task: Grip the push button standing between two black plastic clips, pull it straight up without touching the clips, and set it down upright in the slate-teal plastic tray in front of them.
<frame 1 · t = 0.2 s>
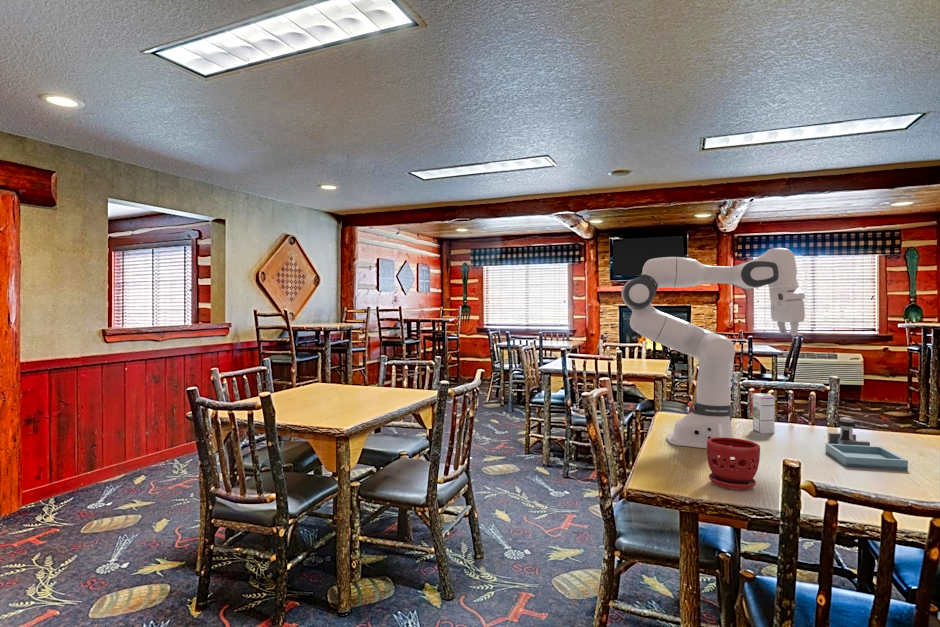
hand: (788, 334, 185), 39 cm above the table, tool pointing down, fingers open, 8 cm apart
tray: (864, 461, 169), on the table
clip holder: (848, 447, 185), on the table
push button: (848, 448, 185), on the table
syrup box: (763, 432, 208), on the table
plant pot: (732, 485, 148), on the table
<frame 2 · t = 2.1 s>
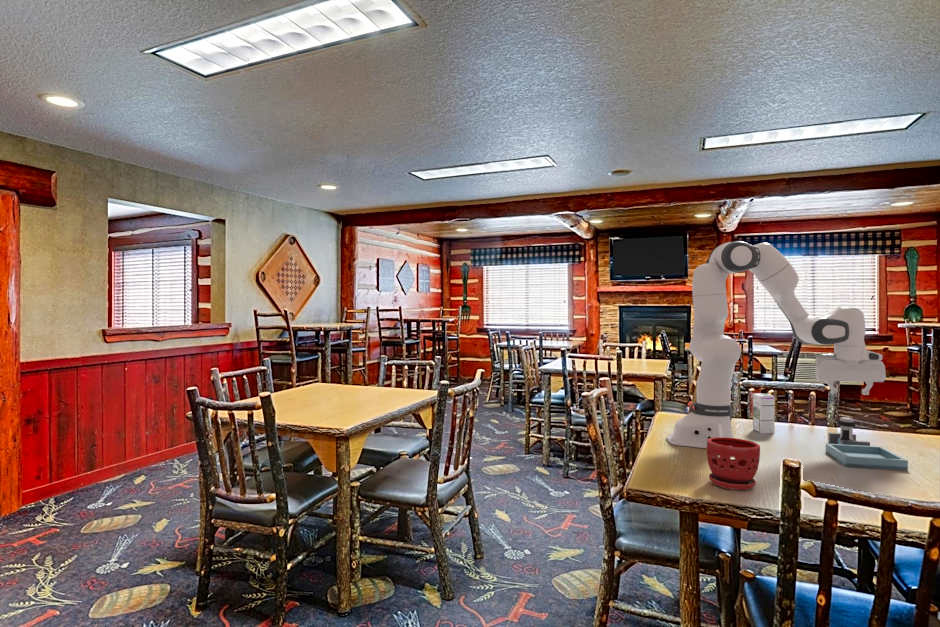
hand: (849, 394, 185), 18 cm above the table, tool pointing down, fingers open, 8 cm apart
nothing on the table moved.
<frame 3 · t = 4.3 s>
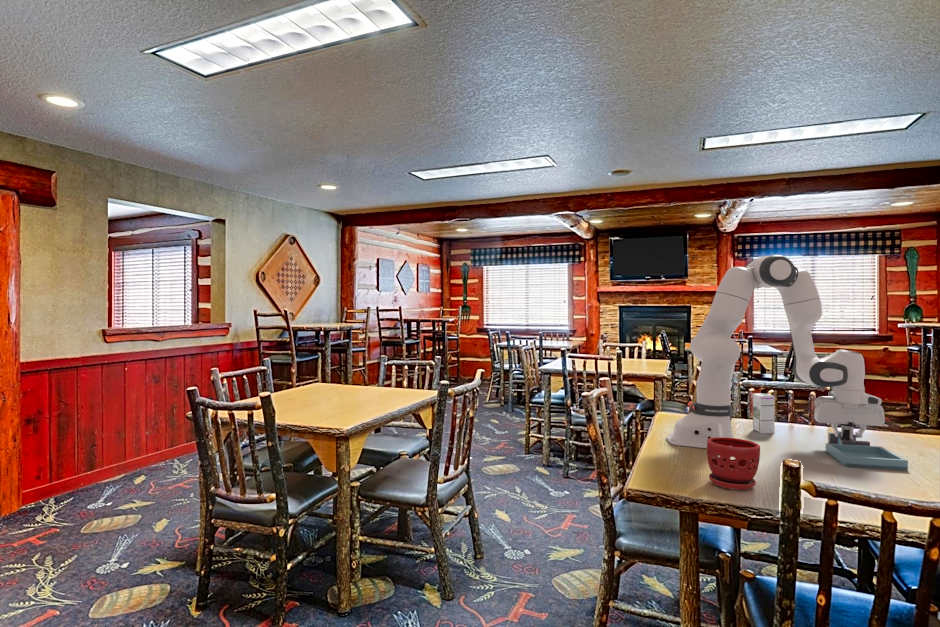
hand: (848, 437, 185), 4 cm above the table, tool pointing down, fingers closed on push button, 5 cm apart
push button: (848, 447, 185), on the table, touching gripper
everything else where it was.
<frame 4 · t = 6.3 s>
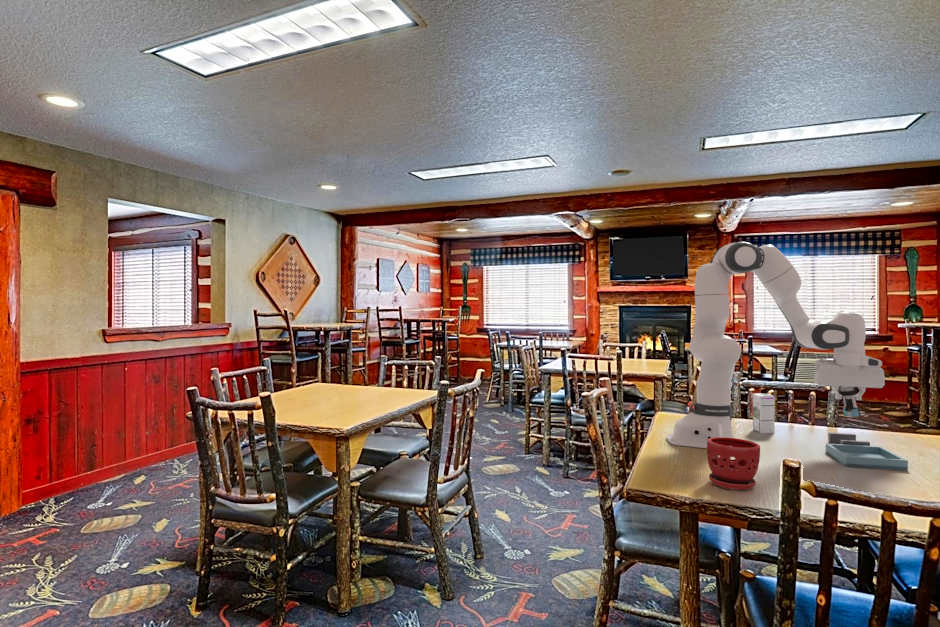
hand: (848, 399, 185), 17 cm above the table, tool pointing down, fingers closed on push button, 4 cm apart
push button: (854, 416, 185), point 11 cm above the table, touching gripper
everything else where it was.
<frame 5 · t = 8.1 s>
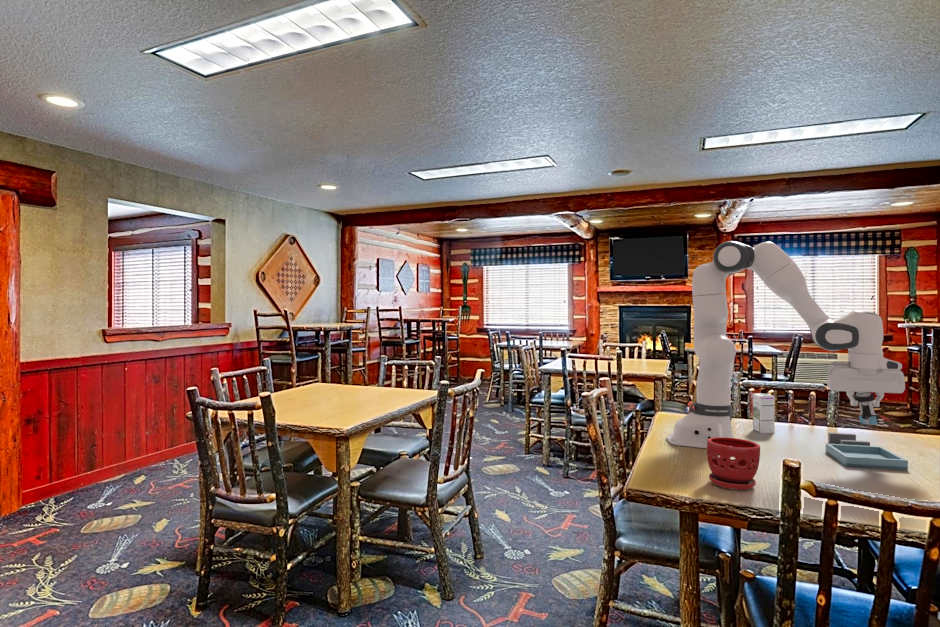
hand: (864, 406, 169), 17 cm above the table, tool pointing down, fingers closed on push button, 4 cm apart
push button: (872, 424, 169), point 12 cm above the table, touching gripper
everything else where it was.
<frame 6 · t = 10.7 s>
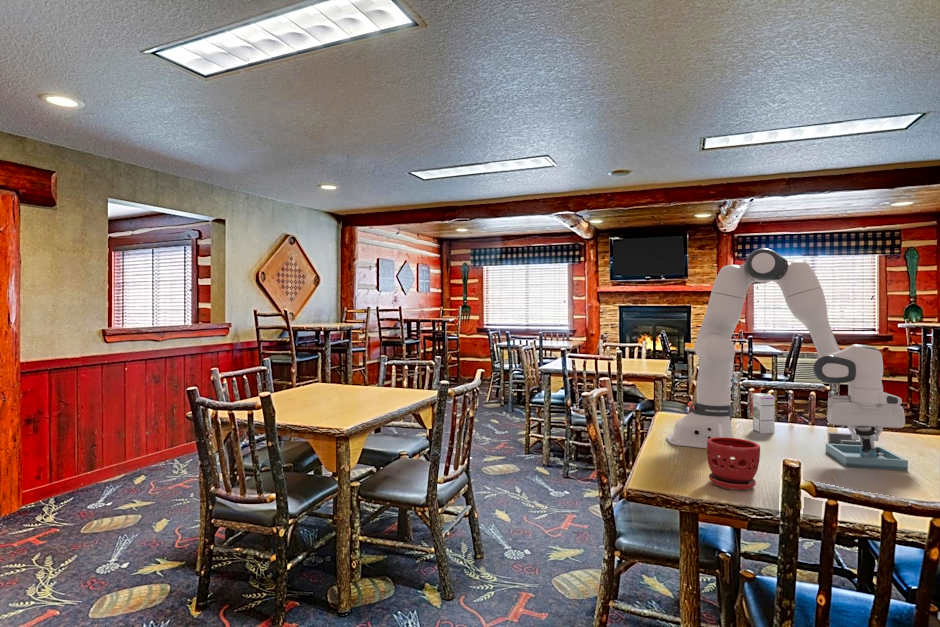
hand: (864, 440, 169), 7 cm above the table, tool pointing down, fingers closed on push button, 4 cm apart
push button: (872, 457, 169), point 1 cm above the table, touching gripper, tray
everything else where it was.
when the fingers open (7 cm above the table, at t = 10.7 s): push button moves 3 cm, resting on tray.
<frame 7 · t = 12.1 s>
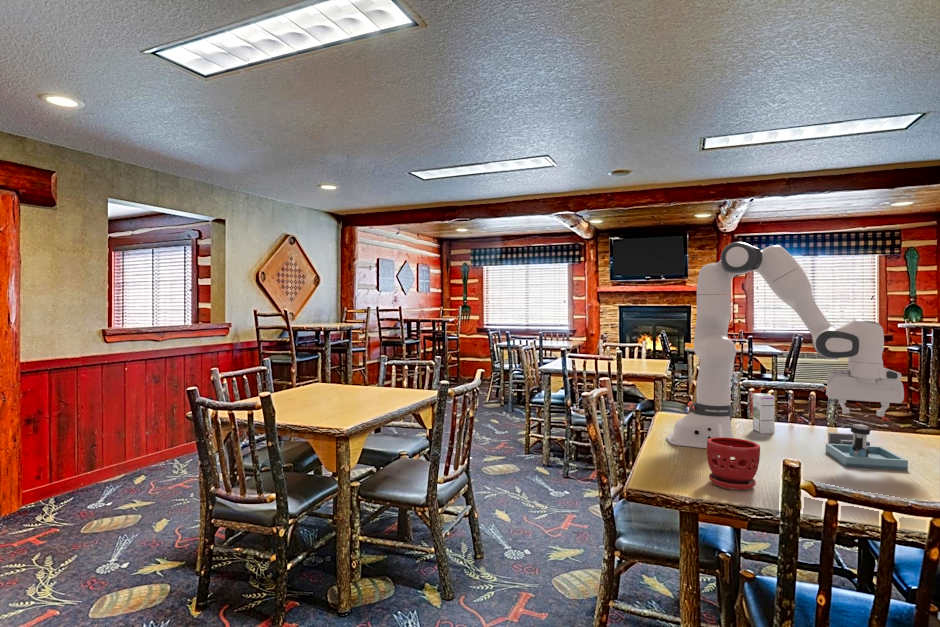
hand: (862, 415, 169), 15 cm above the table, tool pointing down, fingers open, 8 cm apart
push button: (860, 457, 170), point 1 cm above the table, touching tray
everything else where it was.
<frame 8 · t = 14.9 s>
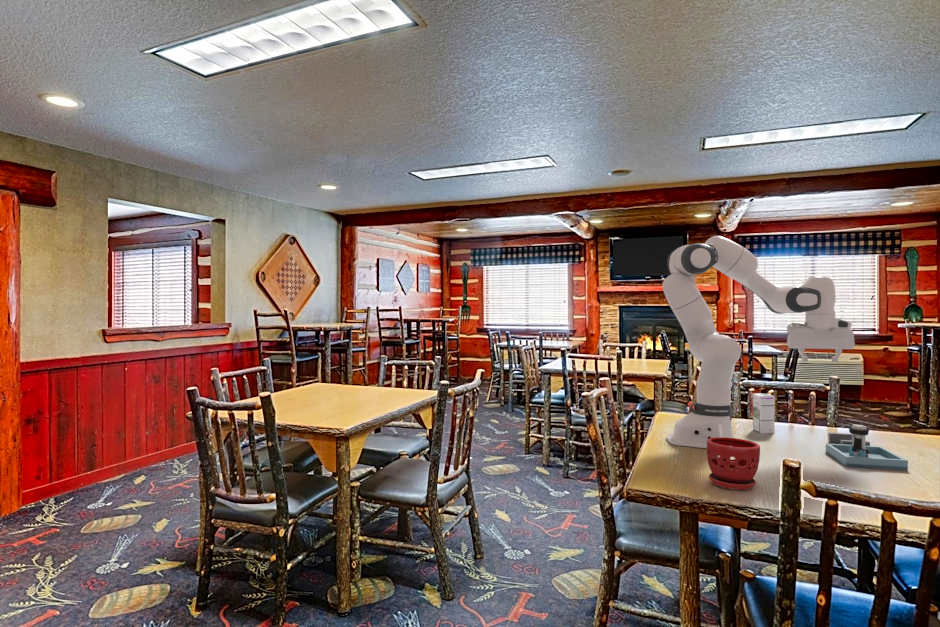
hand: (819, 361, 190), 29 cm above the table, tool pointing down, fingers open, 8 cm apart
nothing on the table moved.
at the end: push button inside the target area on the tray (0.9 cm from its centre), point 0.8 cm above the tray's base; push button tilted 0°; the gripper is holding nothing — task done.
